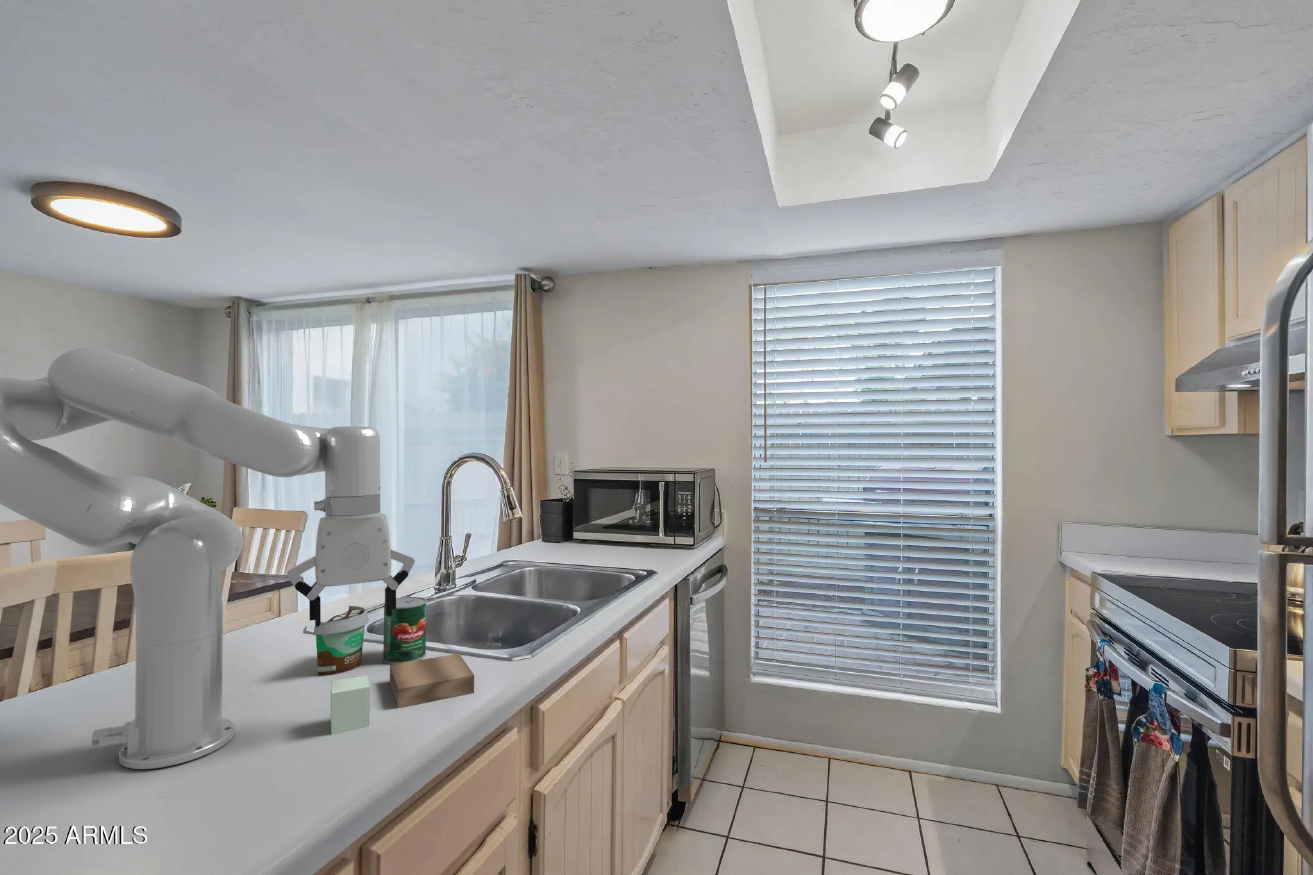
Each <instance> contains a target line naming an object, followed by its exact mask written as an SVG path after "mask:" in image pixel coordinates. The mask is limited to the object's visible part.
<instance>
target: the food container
mask: <svg viewBox="0 0 1313 875" xmlns="http://www.w3.org/2000/svg"><path fill="white" fill-rule="evenodd" d="M369 620H370V619H369V616H368V612H367V610H366V608H365V607H363V606H358V605H348V610H347V611H345V612H343V613H341V614H337V615H334V616H332V617H330V619H328V620H327V621H323V622H321V625H320V626H319V627H315V626H314V629H313V635H315V643H316V662H317V663H316V664H317V666H316V667H317V677H321V676H324V677H325V676H333V675H337V674H338V675H339V674H344V673H347V672H350V671H353V670H354V669H356V668H359V666H361V664H362V658H363V648H364V646H363V645H364V637H365V626H366V625H367V624H368V623H369Z"/></svg>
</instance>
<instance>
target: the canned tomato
mask: <svg viewBox="0 0 1313 875" xmlns="http://www.w3.org/2000/svg"><path fill="white" fill-rule="evenodd" d="M426 642H427V599H426V598H425V597H423V596H421V597H419V596H404V597H396V609H392V616H389V617H388V616H387V615H386V613H385V602H384V603H383V650H382V651H383V652H382V653H383V657H382V660H383V662H384V663H386V664H389V665H393V664H399V663H405V662H411V661H417V660H423V658H425V657H426V656H427V652H426V651H427V643H426Z"/></svg>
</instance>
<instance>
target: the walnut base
mask: <svg viewBox="0 0 1313 875" xmlns="http://www.w3.org/2000/svg"><path fill="white" fill-rule="evenodd" d="M389 683H390V687H391V690H392V694H393V696H394V700H395V703H396V705H397V709H401V708H405V707H410V706H415V705H420V704H424V703H425V704H426V703H430V702H435V701H439V700H444V699H449V698H453V697H454V698H455V697H460V696H465V695H468V694H470V695H471V694H475V674H474V673H473V671H472V670H471V668H470V667H469V665H468V664H467V663H466V661H465V660H464V658H463V656H462V655H461V653H454V654H449V655H442V656H435V657H430V658H425V659H423V658H422V659H420V660H417V661H411V662H405V663H399V664H389Z"/></svg>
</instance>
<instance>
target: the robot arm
mask: <svg viewBox="0 0 1313 875" xmlns="http://www.w3.org/2000/svg"><path fill="white" fill-rule="evenodd" d="M111 421H116V422H118V423H122V424H124V425H128V426H131V427H133V428H136V429H139V430H142V431H145V432H148V433H151V434H155V435H157V436H159V437H163V438H165V439H168V440H171V441H174V442H177V443H178V444H181V445H182V446H185V447H189V448H191V449H194V450H197V451H199V452H202V453H204V454H207V455H209V456H211V457H214V458H217V459H219V460H222V461H225V462H227V463H231V464H234V465H237V466H239V467H242V468H246V469H249V470H252V471H255V472H258V473H261V474H264V475H268V476H272V477H276V478H293V477H297V476H304V475H307V474H308V475H309V474H314V473H322V472H324V477H325V478H324V493H325V494H324V495H325V496H324V498H322V499H321V500H317V501H314V502H313V504H314V506H313V509H314V511H320V512H322V513H325V515H324V516H323V517H320V518H319V523H318V527H317V531H316V541H315V554H314V555H313V556H312V557H310V558H308V559H306V560H304V561H302V562H301V563H299V564H297V565H295V566H293V567H292V568H290V569H288V570H287V571H286V577H287V578H288V579H289V581H290V582H291V584H292V585H293V586H294V589H295V590H296V591H297V592H299V593H300V594H301V595H303V596H304V597H306V599H307V600H308V602H309V608H308V610H309V621H314V625H315V626H314V628H315V627H319V626H320V625H321V621H322V620H321V615H322V614H321V613H322V612H321V611H322V610H321V596H319V595H320V594H321V593H322V592H323V591H324V589H325V588H326V587H339V586H347V585H348V586H349V585H357V584H363V583H364V584H365V583H373V582H380V581H382V582H383V583H384V584H385V585H386V587H384V603H385V613H386V615H387V616H388V617H389V616H392V609H396V599H397V590H398V589H399V586H400V585H402V583H403V582H404V581H405V580H406V579H408V577H409V575H410V572H411V571H412V569H413V567H414V565H415V563H416V561H415V560H416V559H414V557H411V556H409V555H407V554H404V553H401V552H399V551H397V550H393V549H391V537H390V528H389V523H388V518H387V515H386V514H385V513H381V437H380V436H381V435H380V433H379V431H378V430H377V429H376V428H374V427H373V426H358V425H356V426H355V425H353V426H352V425H349V426H333V427H330V428H325V427H324V428H323V427H314V426H307V425H300V424H295V423H293V424H292V423H289V422H285V421H283V420H280V419H277V418H275V417H271V416H268V415H265V414H263V413H261V412H258V411H254V410H251V409H249V408H247V407H244V406H242V405H238V404H236V403H234V402H231V401H229V400H226V399H224V398H223V397H221V396H220V395H218V394H217V393H216V392H215V391H214V390H213V389H211V388H210V387H208V386H205V385H203V384H200V383H198V382H195V381H192V380H189V379H185V378H183V377H182V376H178V375H175V374H171V373H170V372H166V371H164V370H161V369H158V368H155V367H153V366H150V365H147V364H146V363H145V362H143V361H141V360H139V359H136V358H134V357H132V356H128V355H125V354H120V353H117V352H113V351H109V350H106V349H103V348H102V349H101V348H94V347H81V348H75V349H71V350H68V351H66V352H64V353H62V354H60V355H59V356H58V357H56V358H55V359H54V360H53V361H52V363H51V364H50V365H49V368H48V370H47V375H46V376H45V377H42V378H38V379H32V380H23V379H19V378H11V377H4V376H0V505H1V506H3V507H5V508H6V509H9V510H11V511H12V512H14V513H16V514H18V515H20V516H22V517H23V518H26V519H28V520H30V521H32V522H34V523H36V524H39V525H40V526H42V527H43V528H46V529H48V530H51V531H53V532H54V533H57V534H59V535H60V536H62V537H64V538H67V539H69V541H73V542H75V543H76V544H79V545H82V546H83V547H87V548H94V549H103V548H104V549H105V548H111V547H116V546H120V545H124V544H126V543H132V544H134V545H136V546H135V547H134V549H133V551H132V554H131V557H130V562H129V573H130V582H131V587H132V592H133V598H134V606H135V680H134V681H135V686H134V687H135V690H134V691H135V693H134V696H135V697H134V719H133V720H132V721H127V722H124V725H120V726H115V727H112V726H109V727H106V728H105V727H104V728H100V729H99V728H98V729H94V730H93V732H92V735H91V736H92V737H91V745H92V746H97V745H98V750H104V749H105V750H106V749H109V748H113V747H117V746H122V747H121V748H120V750H119V751H118V763H119V764H120V765H121V766H122V767H124V768H128V769H133V770H153V769H154V770H155V769H160V768H166V767H171V766H175V765H180V764H183V763H186V762H190V761H194V760H196V759H199V758H201V757H203V756H206V755H208V754H211V753H213V752H214V751H216V750H219V749H220V748H222V747H223V746H225V745H226V744H227V743H229V741H231V739H232V738H233V737H234V736H235V732H236V730H235V729H236V728H235V727H236V726H235V723H234V721H232V720H231V719H229V718H224V717H223V716H222V715H223V714H222V713H223V712H222V710H223V661H224V660H223V656H224V655H223V653H224V652H223V649H224V648H223V647H224V645H223V644H224V639H223V638H224V607H223V606H224V605H223V596H222V590H221V584H220V577H219V576H220V575H219V574H220V573H221V572H223V571H224V570H226V569H227V568H229V567H230V566H231V565H233V564H234V563H235V562H236V561H237V559H238V558H239V557H240V555H241V553H242V550H243V547H244V536H243V533H242V530H241V529H240V526H238V525H237V523H236V522H235V521H234V520H233V519H231V518H230V517H228V516H227V515H226V514H223V513H222V512H220V511H218V510H216V509H215V508H212V507H211V506H209V505H207V504H205V503H203V502H201V501H199V500H198V499H196V498H194V497H191V496H190V495H188V494H186V493H184V492H182V491H180V490H179V489H176V488H175V487H172V486H171V485H168V484H167V483H164V482H163V481H159V480H157V479H154V478H151V477H146V476H140V475H127V476H126V475H125V476H110V475H106V474H103V473H101V472H98V471H96V470H94V469H92V468H90V467H88V466H86V465H84V464H82V463H80V462H78V461H76V460H74V459H72V458H71V457H69V456H68V455H66V454H64V453H61V452H59V451H57V450H55V449H52V448H50V447H48V446H44V445H41V444H39V443H37V442H34V441H39V440H40V441H41V440H46V439H50V438H55V437H58V436H62V435H65V434H68V433H72V432H75V431H79V430H82V429H86V428H90V427H92V426H96V425H100V424H104V423H107V422H111ZM392 560H394V561H395V562H399V563H401V564H402V566H401V568H400V570H399V571H398V572H396V574H395V575H394V576H392V575H391V574H392V573H391V572H392ZM313 568H314V575H315V582H314V583H313V584H312V585H309V584H308V583H306V581H304V580H303V578H302V577H301V575H302V574H303V573H306V572H307V571H309V570H311V569H313Z"/></svg>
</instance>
